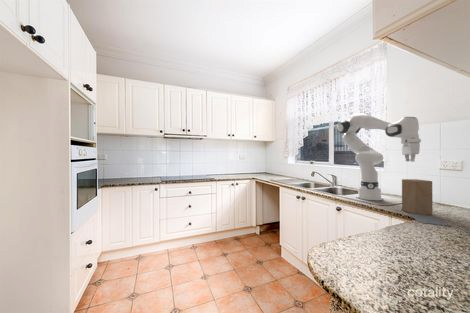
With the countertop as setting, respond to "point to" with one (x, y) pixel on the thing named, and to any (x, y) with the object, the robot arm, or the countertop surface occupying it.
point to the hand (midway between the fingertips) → (409, 161)
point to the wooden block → (417, 196)
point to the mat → (429, 219)
